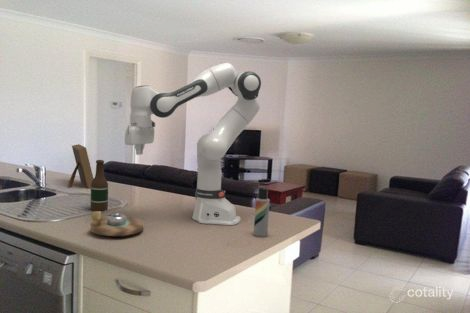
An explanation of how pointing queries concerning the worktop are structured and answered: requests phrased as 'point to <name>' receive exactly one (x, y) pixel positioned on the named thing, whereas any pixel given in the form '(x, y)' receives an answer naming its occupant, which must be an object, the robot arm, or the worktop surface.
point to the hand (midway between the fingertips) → (139, 154)
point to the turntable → (103, 228)
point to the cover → (116, 219)
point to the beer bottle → (99, 189)
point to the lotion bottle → (261, 213)
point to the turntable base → (117, 236)
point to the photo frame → (81, 166)
